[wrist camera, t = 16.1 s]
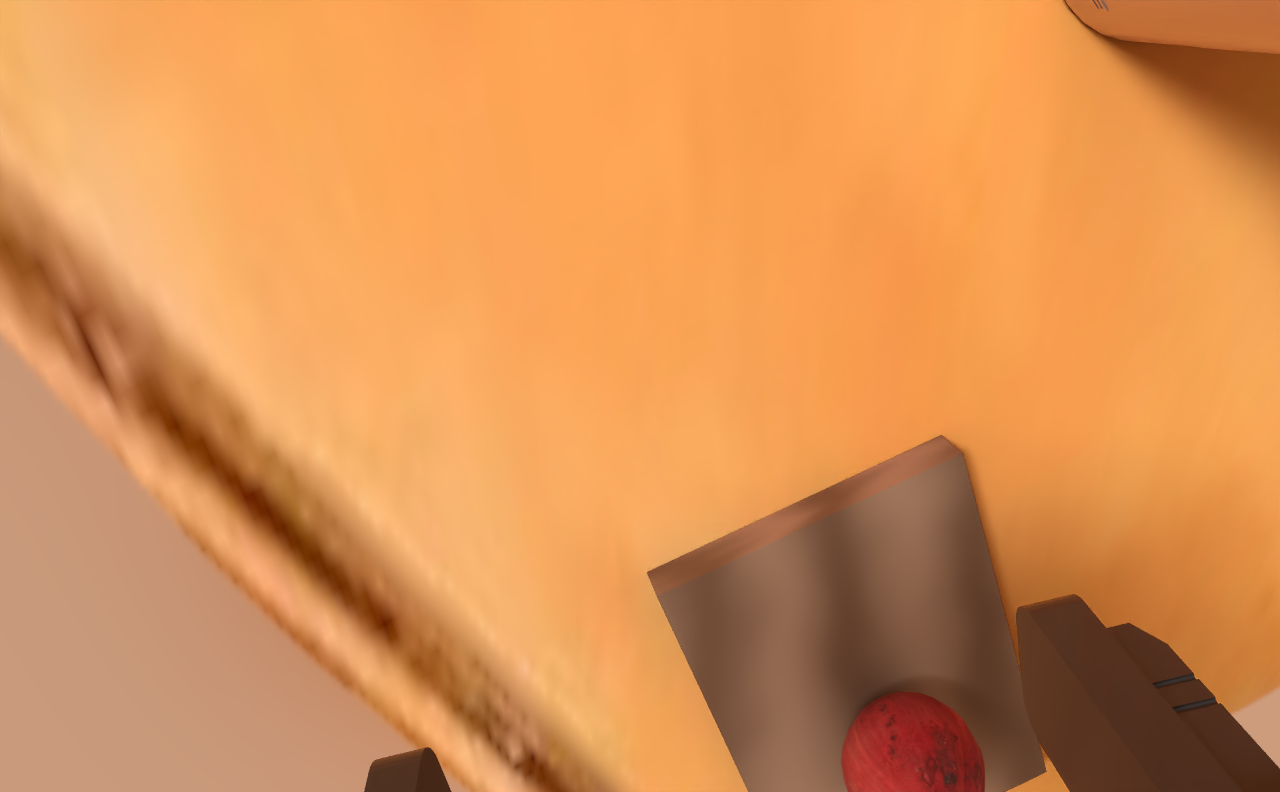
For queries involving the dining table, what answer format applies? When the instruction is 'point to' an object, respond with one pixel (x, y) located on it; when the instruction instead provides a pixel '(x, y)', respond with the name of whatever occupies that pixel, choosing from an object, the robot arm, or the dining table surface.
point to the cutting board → (852, 623)
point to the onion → (911, 748)
